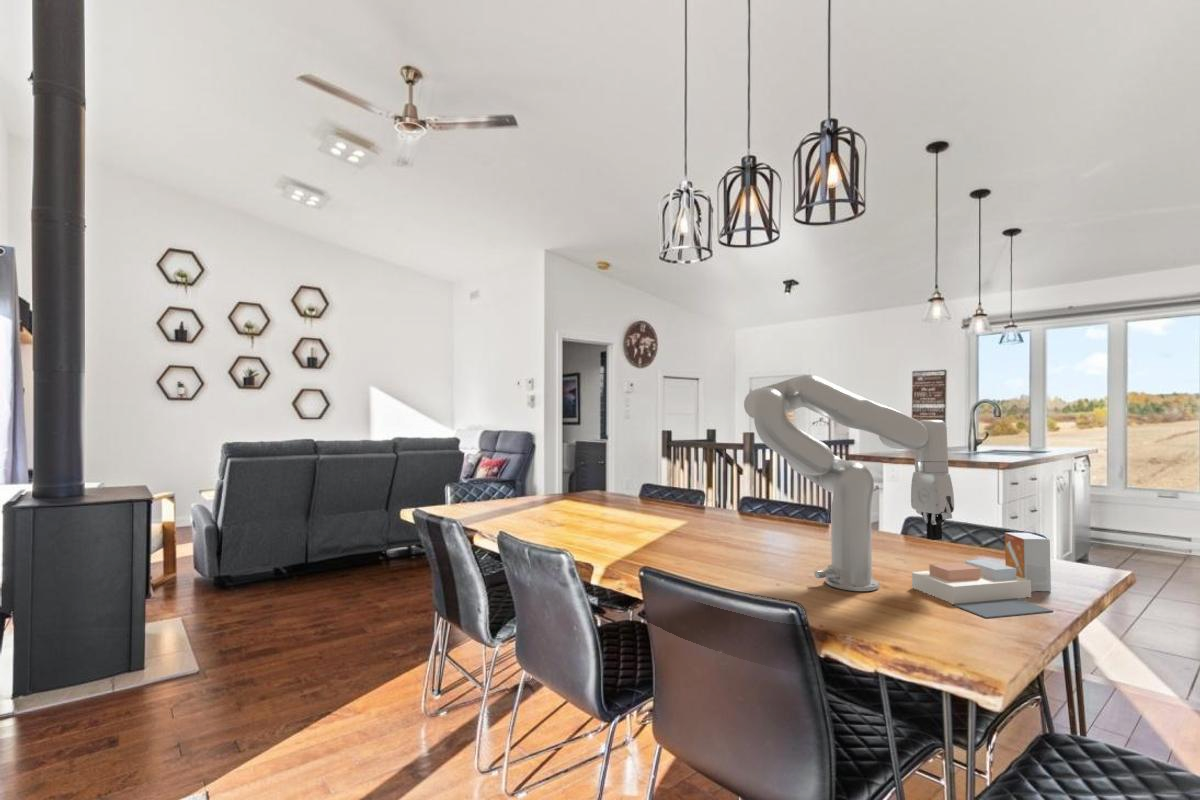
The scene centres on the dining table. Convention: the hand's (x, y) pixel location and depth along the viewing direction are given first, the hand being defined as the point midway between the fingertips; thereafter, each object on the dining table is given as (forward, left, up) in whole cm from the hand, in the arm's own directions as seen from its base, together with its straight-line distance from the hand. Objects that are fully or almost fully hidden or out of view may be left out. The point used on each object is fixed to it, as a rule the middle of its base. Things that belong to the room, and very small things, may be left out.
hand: (934, 539), depth 151 cm
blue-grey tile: (+9, -7, -8) cm, 14 cm away
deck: (+3, -7, -12) cm, 14 cm away
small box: (+21, -7, -12) cm, 25 cm away
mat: (0, -19, -12) cm, 22 cm away
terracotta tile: (-1, -7, -8) cm, 10 cm away
